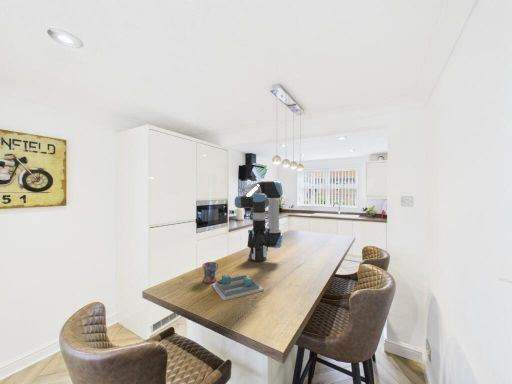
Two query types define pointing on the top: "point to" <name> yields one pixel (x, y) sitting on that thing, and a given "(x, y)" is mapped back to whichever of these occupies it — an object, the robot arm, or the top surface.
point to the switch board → (235, 288)
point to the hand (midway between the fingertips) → (259, 257)
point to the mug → (210, 272)
